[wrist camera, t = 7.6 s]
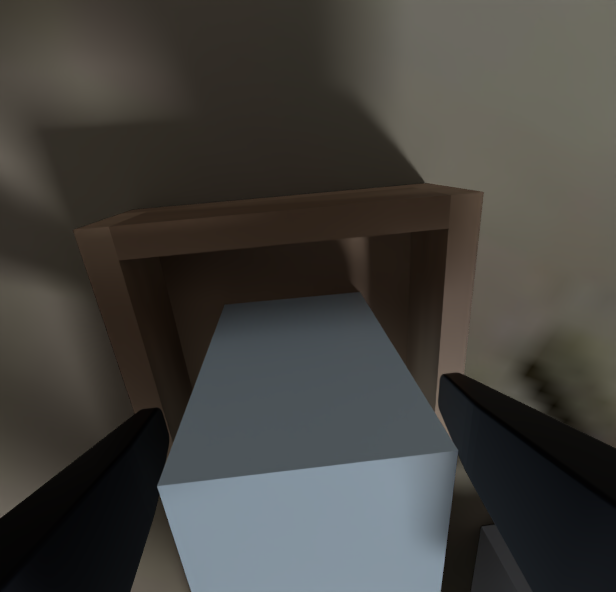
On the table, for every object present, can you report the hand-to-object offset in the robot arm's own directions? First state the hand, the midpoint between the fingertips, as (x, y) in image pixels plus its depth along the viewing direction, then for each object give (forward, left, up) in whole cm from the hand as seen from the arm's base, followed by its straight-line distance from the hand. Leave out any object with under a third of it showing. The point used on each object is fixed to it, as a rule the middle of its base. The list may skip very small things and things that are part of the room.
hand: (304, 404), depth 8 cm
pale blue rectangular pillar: (-5, 0, -3) cm, 6 cm away
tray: (-5, 0, -4) cm, 7 cm away
